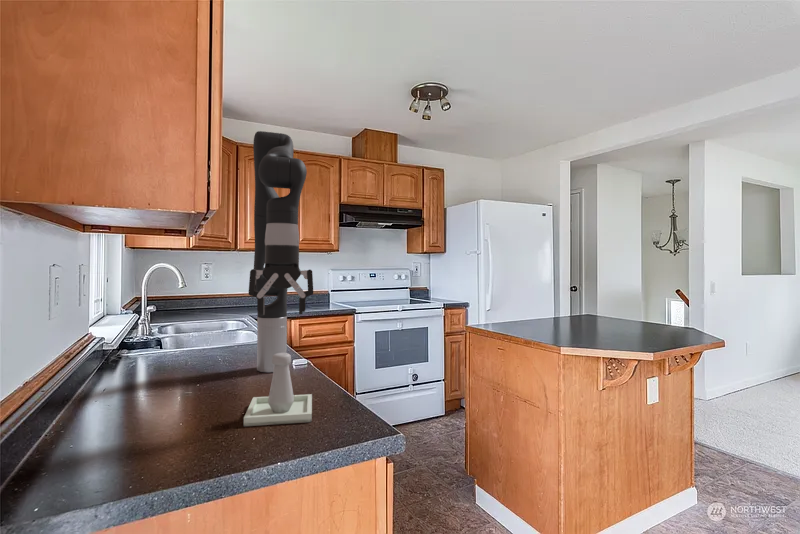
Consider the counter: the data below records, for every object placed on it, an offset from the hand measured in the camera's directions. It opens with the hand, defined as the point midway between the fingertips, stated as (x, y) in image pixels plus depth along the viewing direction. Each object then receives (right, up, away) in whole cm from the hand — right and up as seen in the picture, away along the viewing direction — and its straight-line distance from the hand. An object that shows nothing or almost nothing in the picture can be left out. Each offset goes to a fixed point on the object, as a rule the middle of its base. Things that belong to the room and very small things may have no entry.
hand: (281, 314), depth 95 cm
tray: (0, -23, 0) cm, 23 cm away
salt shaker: (0, -22, 0) cm, 22 cm away
